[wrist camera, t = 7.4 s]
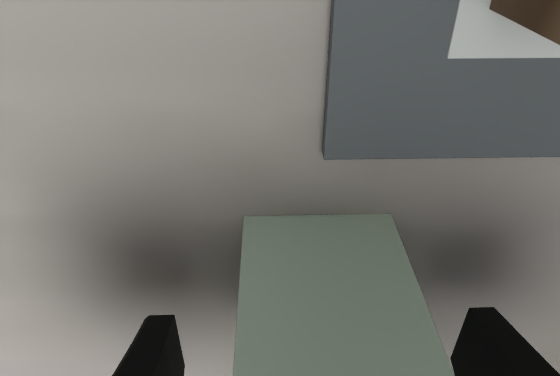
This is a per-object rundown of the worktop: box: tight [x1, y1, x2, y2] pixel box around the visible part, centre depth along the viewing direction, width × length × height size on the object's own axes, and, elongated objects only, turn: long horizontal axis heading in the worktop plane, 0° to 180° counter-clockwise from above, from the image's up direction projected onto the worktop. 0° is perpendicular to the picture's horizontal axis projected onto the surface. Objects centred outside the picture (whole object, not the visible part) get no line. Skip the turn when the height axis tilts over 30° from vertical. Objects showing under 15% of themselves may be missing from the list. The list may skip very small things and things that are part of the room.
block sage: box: [233, 214, 455, 376], centre depth 11 cm, size 4×4×5 cm
